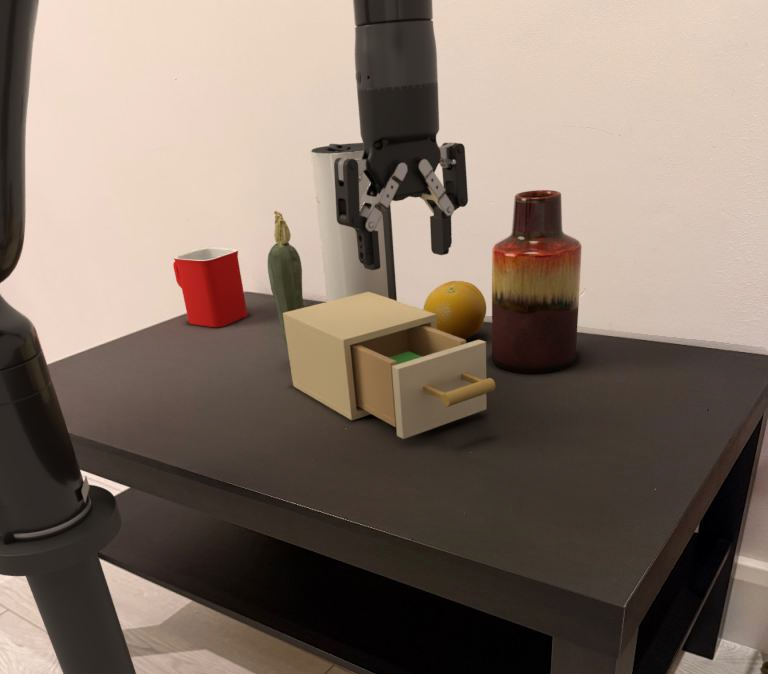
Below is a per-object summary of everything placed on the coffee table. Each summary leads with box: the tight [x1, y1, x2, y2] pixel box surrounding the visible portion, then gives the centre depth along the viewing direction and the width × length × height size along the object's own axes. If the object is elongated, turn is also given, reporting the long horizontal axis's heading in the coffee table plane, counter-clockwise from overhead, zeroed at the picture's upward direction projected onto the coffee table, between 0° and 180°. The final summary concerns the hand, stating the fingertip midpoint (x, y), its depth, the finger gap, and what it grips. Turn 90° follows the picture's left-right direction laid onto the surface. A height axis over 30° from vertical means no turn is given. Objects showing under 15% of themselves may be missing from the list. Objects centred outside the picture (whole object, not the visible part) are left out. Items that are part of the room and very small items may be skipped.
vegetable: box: [267, 210, 305, 349], centre depth 101 cm, size 4×4×20 cm
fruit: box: [423, 280, 487, 340], centre depth 108 cm, size 9×8×8 cm
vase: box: [491, 189, 583, 374], centre depth 96 cm, size 11×11×20 cm
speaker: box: [310, 142, 398, 302], centre depth 109 cm, size 11×10×26 cm
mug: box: [172, 246, 248, 328], centre depth 126 cm, size 12×8×11 cm
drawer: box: [350, 325, 496, 440], centre depth 85 cm, size 18×11×8 cm, turn 34°
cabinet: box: [283, 292, 437, 421], centre depth 94 cm, size 15×13×10 cm
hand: (407, 261), depth 79 cm, fingers open, 8 cm apart
